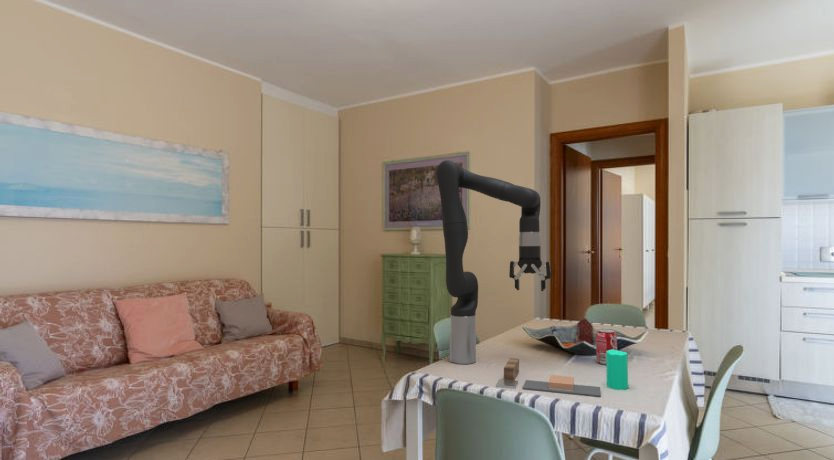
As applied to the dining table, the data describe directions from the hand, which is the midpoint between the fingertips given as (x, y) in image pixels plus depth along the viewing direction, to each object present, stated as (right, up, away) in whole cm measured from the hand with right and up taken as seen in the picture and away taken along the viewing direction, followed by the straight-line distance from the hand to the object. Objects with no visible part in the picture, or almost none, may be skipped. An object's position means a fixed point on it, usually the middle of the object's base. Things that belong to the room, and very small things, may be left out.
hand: (530, 290), depth 166 cm
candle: (+21, -27, -23) cm, 41 cm away
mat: (+3, -27, -25) cm, 37 cm away
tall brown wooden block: (-10, -27, -15) cm, 33 cm away
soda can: (+29, -27, +4) cm, 40 cm away
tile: (+5, -25, -20) cm, 33 cm away
